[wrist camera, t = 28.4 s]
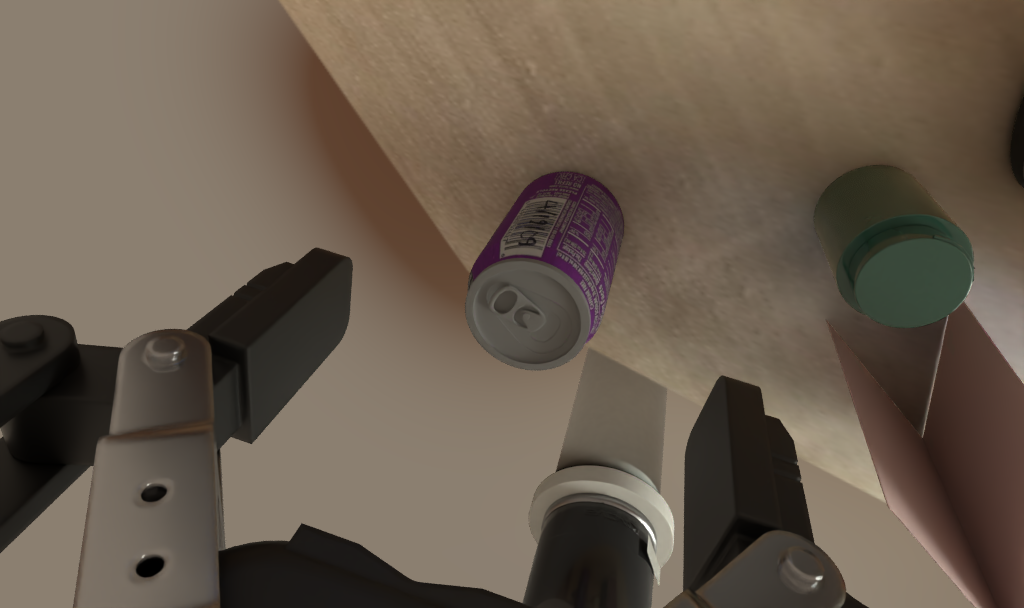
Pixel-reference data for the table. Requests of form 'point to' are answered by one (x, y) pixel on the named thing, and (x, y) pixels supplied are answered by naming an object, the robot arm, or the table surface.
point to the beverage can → (546, 272)
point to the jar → (893, 247)
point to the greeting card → (955, 461)
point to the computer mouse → (1018, 146)
